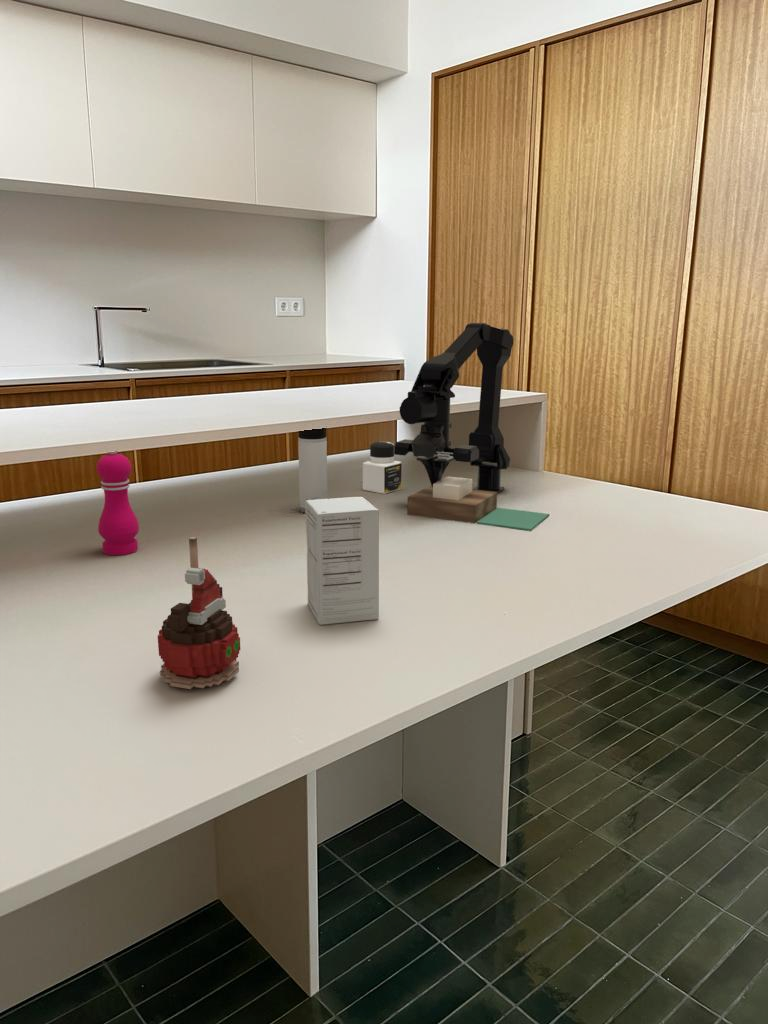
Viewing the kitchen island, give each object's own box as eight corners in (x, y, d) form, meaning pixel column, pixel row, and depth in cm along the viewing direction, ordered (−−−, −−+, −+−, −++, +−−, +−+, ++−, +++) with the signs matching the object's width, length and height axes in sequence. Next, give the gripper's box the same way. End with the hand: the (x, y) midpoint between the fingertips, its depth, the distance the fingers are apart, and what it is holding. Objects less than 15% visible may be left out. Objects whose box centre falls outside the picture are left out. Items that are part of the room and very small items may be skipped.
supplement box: (380, 620, 118) (381, 509, 113) (319, 626, 115) (317, 514, 111) (363, 597, 126) (363, 494, 122) (306, 603, 124) (304, 498, 120)
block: (447, 489, 184) (447, 476, 183) (471, 491, 181) (472, 478, 180) (432, 497, 176) (433, 484, 175) (458, 500, 173) (458, 486, 172)
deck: (432, 501, 189) (432, 484, 188) (496, 509, 182) (497, 492, 181) (407, 514, 177) (407, 496, 176) (474, 523, 170) (475, 505, 169)
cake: (189, 653, 106) (181, 523, 101) (253, 663, 103) (248, 529, 99) (143, 689, 96) (132, 546, 91) (213, 700, 93) (205, 554, 89)
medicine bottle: (384, 494, 195) (385, 446, 192) (362, 490, 200) (362, 442, 197) (401, 489, 201) (402, 442, 198) (379, 485, 205) (379, 439, 202)
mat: (497, 509, 182) (497, 507, 182) (549, 515, 177) (549, 514, 177) (476, 523, 170) (476, 521, 170) (530, 531, 165) (530, 529, 164)
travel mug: (311, 515, 175) (310, 425, 170) (294, 509, 180) (292, 421, 175) (333, 511, 179) (333, 422, 174) (316, 505, 184) (315, 419, 179)
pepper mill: (129, 542, 154) (121, 440, 149) (147, 550, 149) (140, 445, 144) (93, 550, 149) (84, 445, 144) (111, 559, 144) (102, 450, 139)
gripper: (382, 420, 173) (381, 490, 177) (462, 427, 165) (459, 500, 169) (405, 414, 183) (403, 481, 187) (481, 420, 175) (478, 490, 179)
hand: (434, 487), depth 180 cm, fingers closed
